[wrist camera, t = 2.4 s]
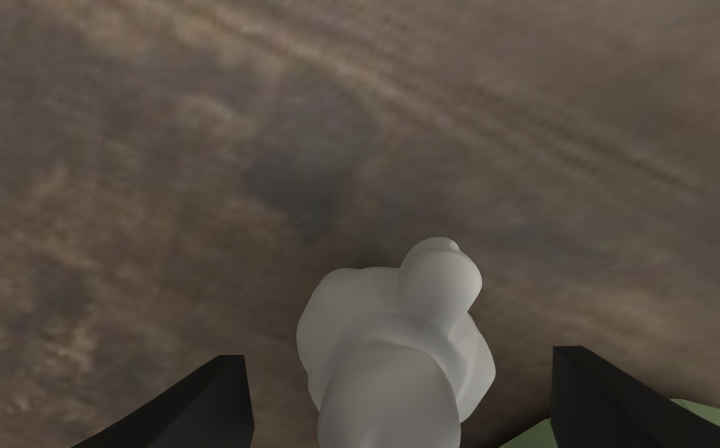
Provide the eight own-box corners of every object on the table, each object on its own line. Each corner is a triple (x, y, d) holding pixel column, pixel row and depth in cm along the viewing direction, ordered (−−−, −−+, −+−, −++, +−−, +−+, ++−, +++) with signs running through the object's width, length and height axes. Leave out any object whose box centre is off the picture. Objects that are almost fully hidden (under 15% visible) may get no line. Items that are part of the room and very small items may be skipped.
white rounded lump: (280, 351, 17) (180, 576, 9) (368, 177, 15) (336, 275, 7) (424, 419, 17) (445, 694, 9) (526, 257, 15) (658, 432, 8)
